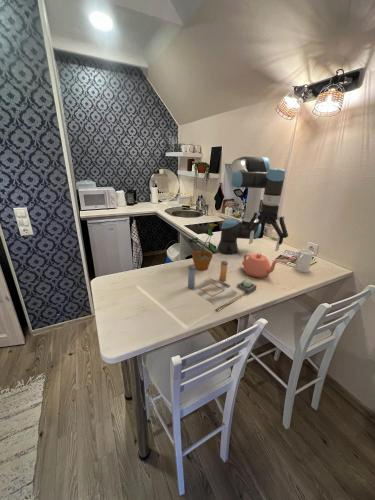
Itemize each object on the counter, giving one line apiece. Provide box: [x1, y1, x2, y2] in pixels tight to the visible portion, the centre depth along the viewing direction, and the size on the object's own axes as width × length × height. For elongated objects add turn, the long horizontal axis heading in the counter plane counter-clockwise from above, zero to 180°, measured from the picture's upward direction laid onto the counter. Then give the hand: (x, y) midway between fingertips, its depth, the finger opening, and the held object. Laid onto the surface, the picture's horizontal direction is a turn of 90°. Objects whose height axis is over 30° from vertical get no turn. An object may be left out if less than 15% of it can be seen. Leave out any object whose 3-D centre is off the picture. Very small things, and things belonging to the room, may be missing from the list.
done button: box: [242, 278, 253, 288], centre depth 115 cm, size 4×4×3 cm
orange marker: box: [219, 260, 229, 282], centre depth 120 cm, size 4×4×12 cm
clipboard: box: [186, 276, 245, 312], centre depth 112 cm, size 24×20×1 cm
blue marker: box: [187, 264, 196, 290], centre depth 112 cm, size 4×4×12 cm
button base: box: [236, 281, 257, 295], centre depth 116 cm, size 7×7×2 cm
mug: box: [294, 248, 314, 273], centre depth 137 cm, size 12×8×12 cm
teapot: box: [242, 252, 280, 278], centre depth 130 cm, size 22×16×12 cm
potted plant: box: [188, 223, 217, 272], centre depth 130 cm, size 18×19×30 cm
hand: (263, 246), depth 110 cm, fingers open, 13 cm apart
